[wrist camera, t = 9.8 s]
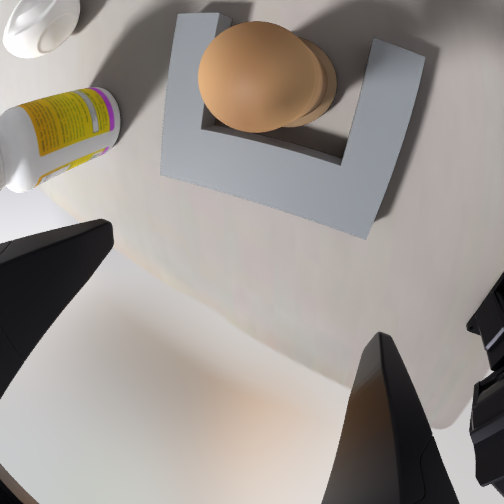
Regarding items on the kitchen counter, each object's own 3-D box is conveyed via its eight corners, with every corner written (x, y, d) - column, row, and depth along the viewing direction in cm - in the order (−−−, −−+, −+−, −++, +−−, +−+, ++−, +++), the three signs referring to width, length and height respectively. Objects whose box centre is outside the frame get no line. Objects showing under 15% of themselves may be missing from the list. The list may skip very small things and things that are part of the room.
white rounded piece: (105, -18, 13) (37, -24, 7) (86, 53, 18) (16, 63, 12) (60, -8, 14) (2, -5, 8) (46, 53, 19) (-12, 65, 13)
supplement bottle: (90, 75, 19) (-36, 107, 9) (134, 105, 20) (-9, 151, 9) (72, 133, 23) (-34, 181, 13) (110, 166, 24) (-4, 231, 14)
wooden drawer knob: (345, 50, 13) (340, 24, 8) (324, 136, 17) (308, 160, 11) (252, 32, 14) (199, 9, 9) (237, 114, 18) (181, 129, 12)
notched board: (418, 61, 12) (425, 57, 10) (365, 226, 19) (365, 239, 17) (193, 18, 15) (178, 13, 13) (174, 167, 22) (160, 175, 20)
